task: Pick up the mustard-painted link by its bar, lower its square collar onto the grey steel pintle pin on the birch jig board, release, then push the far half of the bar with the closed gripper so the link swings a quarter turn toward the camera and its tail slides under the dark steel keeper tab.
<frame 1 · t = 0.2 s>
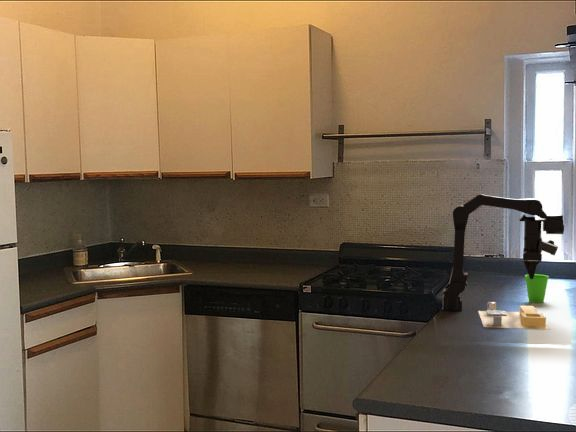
hand: (531, 276, 250), 14 cm above the worktop, fingers open, 9 cm apart
board: (512, 322, 241), on the worktop
keeper: (497, 325, 232), resting on board
cup: (536, 304, 271), on the worktop
pintle: (491, 313, 250), resting on board
link: (528, 317, 243), point 1 cm above the worktop, touching board
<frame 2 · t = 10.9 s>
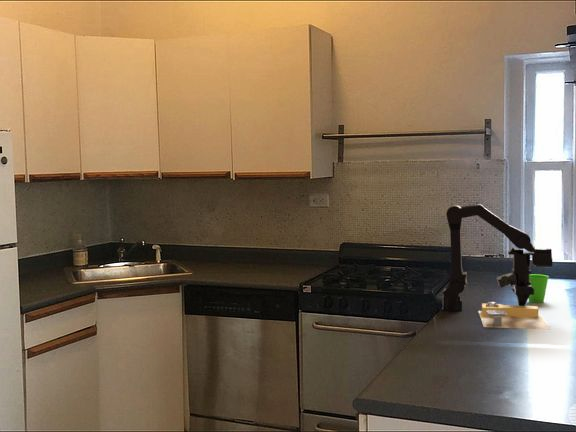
hand: (521, 309, 250), 2 cm above the worktop, fingers closed
link: (519, 315, 247), point 1 cm above the worktop, touching board, gripper, pintle
everything else where it was.
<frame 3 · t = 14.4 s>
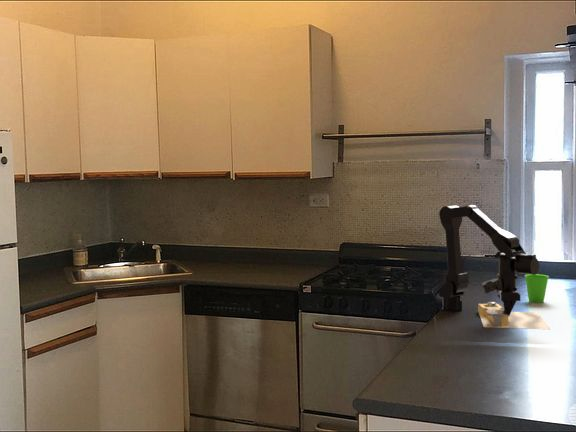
hand: (507, 316, 240), 2 cm above the worktop, fingers closed
link: (497, 320, 240), point 1 cm above the worktop, touching gripper
everything else where it was.
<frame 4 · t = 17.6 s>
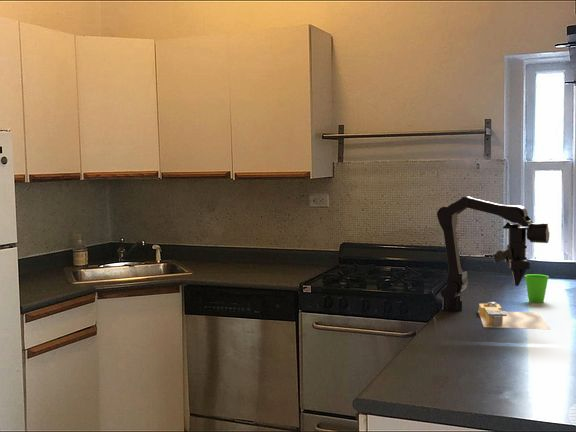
hand: (516, 285, 245), 12 cm above the worktop, fingers closed
link: (493, 320, 240), point 1 cm above the worktop, touching board, pintle
everything else where it was.
at the end: link 0.8 cm from the target spot on the worktop beside the pintle, resting on board; link tilted 0° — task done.
